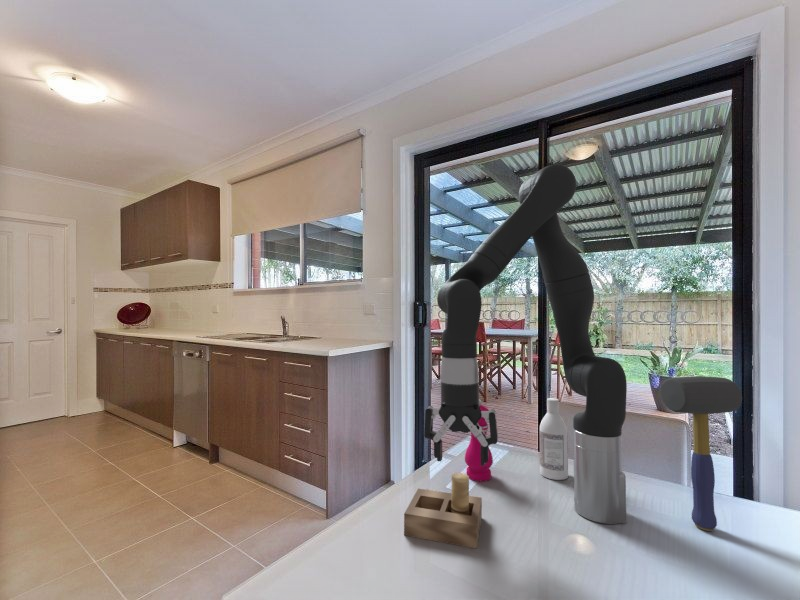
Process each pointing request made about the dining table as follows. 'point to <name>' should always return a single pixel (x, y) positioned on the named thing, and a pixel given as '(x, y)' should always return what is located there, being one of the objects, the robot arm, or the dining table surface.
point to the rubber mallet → (701, 432)
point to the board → (442, 519)
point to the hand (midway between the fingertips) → (461, 462)
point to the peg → (460, 494)
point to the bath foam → (553, 443)
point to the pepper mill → (478, 454)
